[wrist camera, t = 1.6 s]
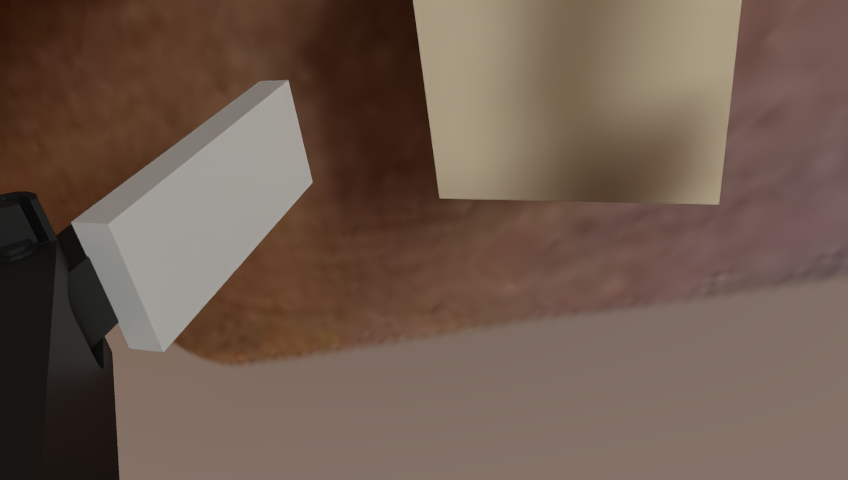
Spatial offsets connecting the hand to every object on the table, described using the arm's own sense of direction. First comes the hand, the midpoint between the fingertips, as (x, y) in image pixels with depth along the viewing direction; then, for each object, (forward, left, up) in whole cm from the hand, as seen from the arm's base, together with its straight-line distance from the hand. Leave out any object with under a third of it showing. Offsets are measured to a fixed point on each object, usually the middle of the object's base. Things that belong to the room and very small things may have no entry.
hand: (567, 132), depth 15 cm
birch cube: (0, 0, -12) cm, 12 cm away
